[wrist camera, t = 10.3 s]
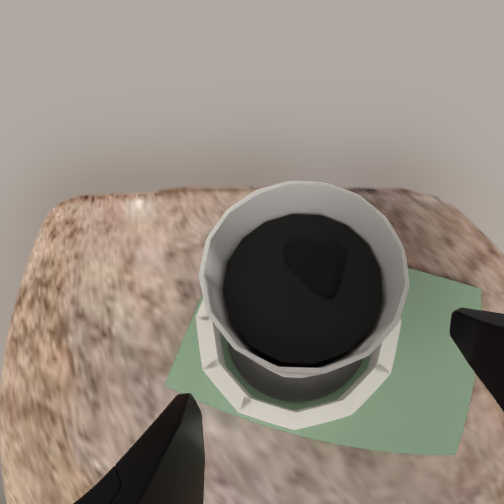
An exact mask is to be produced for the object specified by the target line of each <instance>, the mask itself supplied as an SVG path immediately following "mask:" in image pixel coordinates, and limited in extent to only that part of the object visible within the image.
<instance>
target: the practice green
mask: <svg viewBox="0 0 504 504" xmlns="http://www.w3.org/2000/svg"><path fill="white" fill-rule="evenodd" d="M408 275H409V283H410V286H409V290H408V293H407V297H406V300H405V304H404V307H403V310H402V313H401V317H400V320H399V323H398V324H397V326H396V327H395V328H394V329H393V330H392V331H391V332H390V334H389V335H388V336H387V337H386V338H385V339H384V340H383V341H382V342H381V343H380V344H379V346H378V347H377V348H376V349H375V350H374V351H373V352H372V353H371V354H370V355H369V356H367V357H365V358H362V359H360V360H358V361H355V362H353V363H351V364H348V365H346V366H343V367H341V368H338V369H336V370H333V371H330V372H328V373H325V374H320V375H315V376H310V377H304V378H291V377H282V376H280V375H278V374H276V373H274V372H272V371H270V370H268V369H266V368H265V367H263V366H261V365H259V364H258V363H256V362H254V361H253V360H251V359H249V358H248V357H246V356H244V355H243V354H241V353H240V352H238V351H236V350H235V349H234V348H233V347H232V346H231V345H230V343H229V342H228V341H227V340H226V338H225V337H224V336H223V334H222V333H221V332H220V331H219V329H218V328H217V327H216V325H215V324H214V323H213V322H212V320H211V319H210V318H209V316H208V315H207V312H206V308H205V303H204V299H203V294H202V297H201V299H200V301H199V304H198V306H197V308H196V311H195V313H194V315H193V318H192V320H191V322H190V325H189V327H188V329H187V332H186V334H185V337H184V339H183V341H182V344H181V346H180V349H179V351H178V353H177V356H176V358H175V361H174V363H173V366H172V368H171V370H170V373H169V375H168V378H167V380H166V383H165V386H167V387H169V388H171V389H173V390H175V391H177V392H180V393H182V394H183V393H191V394H192V395H193V397H194V399H195V400H197V401H200V402H202V403H204V404H207V405H209V406H212V407H214V408H217V409H219V410H222V411H224V412H227V413H230V414H232V415H235V416H238V417H241V418H243V419H246V420H249V421H252V422H255V423H258V424H261V425H264V426H268V427H271V428H274V429H277V430H281V431H284V432H288V433H292V434H295V435H299V436H303V437H307V438H311V439H315V440H320V441H324V442H329V443H334V444H339V445H344V446H350V447H355V448H362V449H368V450H376V451H384V452H393V453H404V454H419V455H455V454H456V451H457V448H458V445H459V442H460V439H461V436H462V432H463V429H464V425H465V421H466V417H467V413H468V409H469V405H470V400H471V395H472V390H473V385H474V379H475V372H474V371H473V370H472V368H471V367H470V365H469V364H468V362H467V361H466V359H465V358H464V356H463V355H462V353H461V352H460V350H459V349H458V347H457V346H456V344H455V343H454V341H453V340H452V338H451V336H450V333H449V330H450V322H451V314H452V312H453V311H455V310H457V309H459V308H461V307H463V308H469V309H475V310H481V289H480V288H476V287H473V286H470V285H466V284H463V283H460V282H456V281H453V280H449V279H446V278H442V277H439V276H435V275H432V274H428V273H425V272H421V271H418V270H414V269H411V268H408Z"/></svg>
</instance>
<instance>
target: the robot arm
mask: <svg viewBox="0 0 504 504" xmlns="http://www.w3.org/2000/svg"><path fill="white" fill-rule="evenodd" d="M449 333H450V336H451V338H452V340H453V341H454V343H455V344H456V346H457V347H458V349H459V350H460V352H461V353H462V355H463V356H464V358H465V359H466V361H467V362H468V364H469V365H470V367H471V368H472V370H473V371H474V372H475V373H476V375H477V376H478V377H479V379H480V380H481V381H482V382H483V384H484V385H485V386H486V388H487V389H488V390H489V392H490V393H491V395H492V396H493V397H494V399H495V400H496V401H497V403H498V404H499V406H500V407H501V408H502V410H503V411H504V314H501V313H494V312H488V311H482V310H475V309H469V308H463V307H461V308H459V309H457V310H455V311H453V312H452V314H451V322H450V330H449ZM115 466H116V467H115ZM115 466H114V467H113V468H112V469H111V470H110V471H109V472H108V473H107V474H106V475H105V476H104V477H103V478H102V479H101V480H100V481H99V482H98V483H97V484H96V485H95V486H94V487H93V488H92V489H90V490H89V491H88V492H87V493H86V494H85V495H83V496H82V497H81V498H80V499H79V500H77V501H76V502H75V503H74V504H203V496H204V468H205V451H204V439H203V426H202V415H201V411H200V409H199V407H198V405H197V403H196V401H195V399H194V397H193V395H192V394H191V393H183V394H178V395H177V396H176V397H175V398H174V399H173V400H172V402H171V403H170V404H169V405H168V406H167V407H166V409H165V410H164V411H163V412H162V413H161V414H160V415H159V417H158V418H157V419H156V420H155V421H154V422H153V423H152V425H151V426H150V427H149V428H148V429H147V430H146V431H145V433H144V434H143V435H142V436H141V437H140V438H139V439H138V440H137V442H136V443H135V444H134V445H133V446H132V447H131V448H130V449H129V450H128V452H127V453H126V454H125V455H124V456H123V457H122V458H121V459H120V460H119V461H118V462H117V464H116V465H115Z"/></svg>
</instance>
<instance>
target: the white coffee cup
mask: <svg viewBox="0 0 504 504" xmlns="http://www.w3.org/2000/svg"><path fill="white" fill-rule="evenodd" d="M198 276H199V281H200V285H201V290H202V294H203V299H204V303H205V308H206V312H207V315H208V316H209V318H210V319H211V320H212V322H213V323H214V324H215V325H216V327H217V328H218V329H219V331H220V332H221V333H222V334H223V336H224V337H225V338H226V340H227V341H228V342H229V343H230V345H231V346H232V347H233V348H234V349H235V350H236V351H238V352H240V353H241V354H243V355H244V356H246V357H248V358H249V359H251V360H253V361H254V362H256V363H258V364H259V365H261V366H263V367H265V368H266V369H268V370H270V371H272V372H274V373H276V374H278V375H280V376H282V377H291V378H304V377H310V376H315V375H320V374H325V373H328V372H330V371H333V370H336V369H338V368H341V367H343V366H346V365H348V364H351V363H353V362H355V361H358V360H360V359H362V358H365V357H367V356H369V355H370V354H371V353H372V352H373V351H374V350H375V349H376V348H377V347H378V346H379V344H380V343H381V342H382V341H383V340H384V339H385V338H386V337H387V336H388V335H389V334H390V332H391V331H392V330H393V329H394V328H395V327H396V326H397V324H398V323H399V320H400V317H401V313H402V310H403V307H404V304H405V300H406V297H407V293H408V290H409V286H410V283H409V275H408V267H407V260H406V253H405V248H404V246H403V244H402V242H401V241H400V239H399V237H398V235H397V234H396V232H395V230H394V229H393V227H392V225H391V224H390V222H389V220H388V219H387V217H386V216H385V215H384V214H382V213H381V212H380V211H379V210H378V209H376V208H375V207H374V206H373V205H371V204H370V203H369V202H368V201H366V200H365V199H364V198H363V197H361V196H360V195H359V194H356V193H354V192H351V191H348V190H346V189H343V188H340V187H338V186H335V185H332V184H329V183H327V182H314V181H286V182H283V183H279V184H275V185H272V186H268V187H264V188H261V189H257V190H255V191H254V192H252V193H251V194H249V195H248V196H246V197H245V198H243V199H242V200H240V201H239V202H237V203H236V204H234V205H233V206H231V207H230V208H228V209H227V210H226V211H225V213H224V214H223V216H222V217H221V218H220V220H219V221H218V223H217V224H216V226H215V227H214V228H213V230H212V231H211V233H210V234H209V236H208V237H207V238H206V242H205V246H204V251H203V255H202V260H201V265H200V270H199V274H198Z"/></svg>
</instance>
